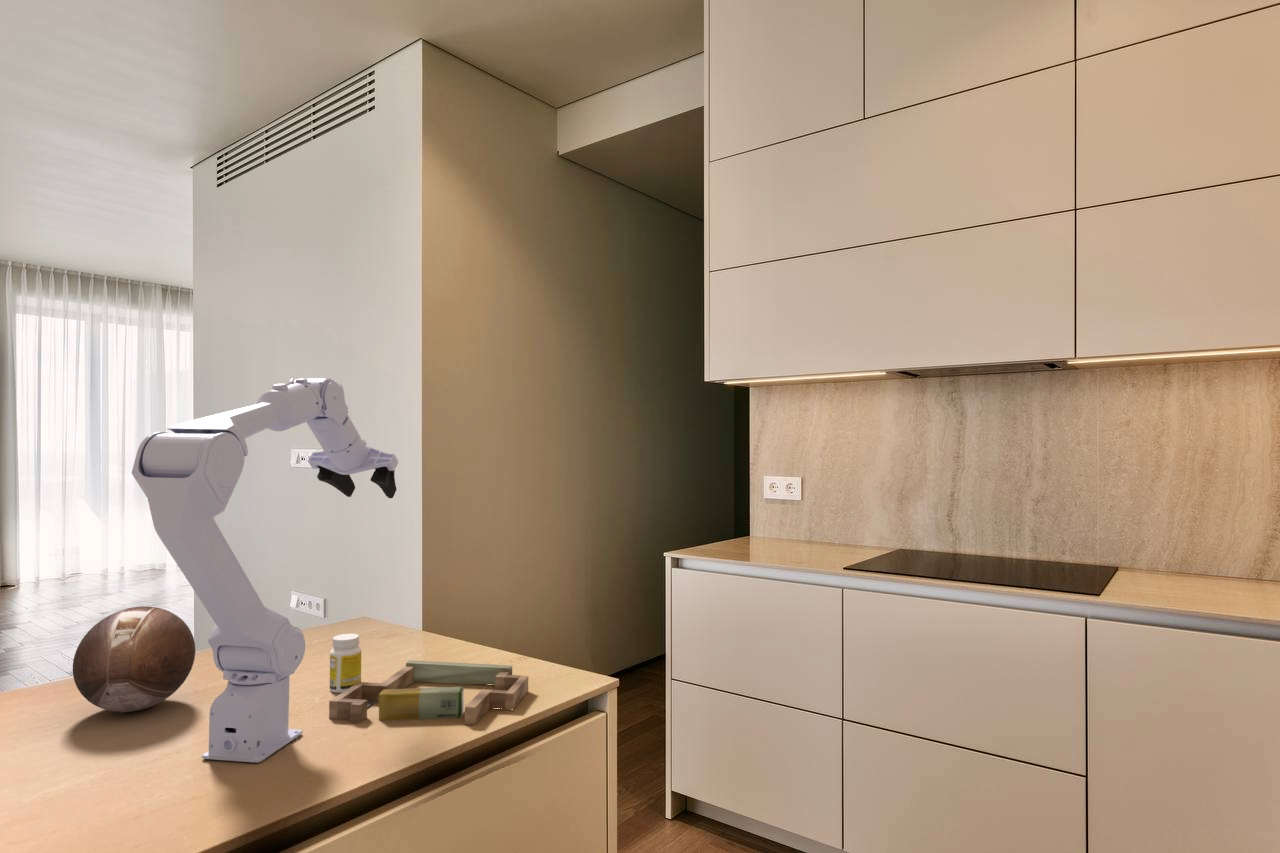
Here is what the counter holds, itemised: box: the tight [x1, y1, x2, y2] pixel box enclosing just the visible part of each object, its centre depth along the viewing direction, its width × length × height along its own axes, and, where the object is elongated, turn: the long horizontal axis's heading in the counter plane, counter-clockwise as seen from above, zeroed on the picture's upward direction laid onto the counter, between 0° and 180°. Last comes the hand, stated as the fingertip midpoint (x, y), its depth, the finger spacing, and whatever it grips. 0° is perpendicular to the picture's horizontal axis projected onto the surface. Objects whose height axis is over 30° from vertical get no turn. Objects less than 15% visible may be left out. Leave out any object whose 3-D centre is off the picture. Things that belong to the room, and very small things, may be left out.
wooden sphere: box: [72, 606, 196, 713], centre depth 108 cm, size 15×15×15 cm
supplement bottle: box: [329, 633, 362, 694], centre depth 118 cm, size 5×5×8 cm
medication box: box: [378, 686, 465, 721], centre depth 107 cm, size 12×3×4 cm, turn 97°
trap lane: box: [328, 659, 529, 726], centre depth 112 cm, size 20×25×3 cm
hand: (371, 493), depth 124 cm, fingers open, 7 cm apart
